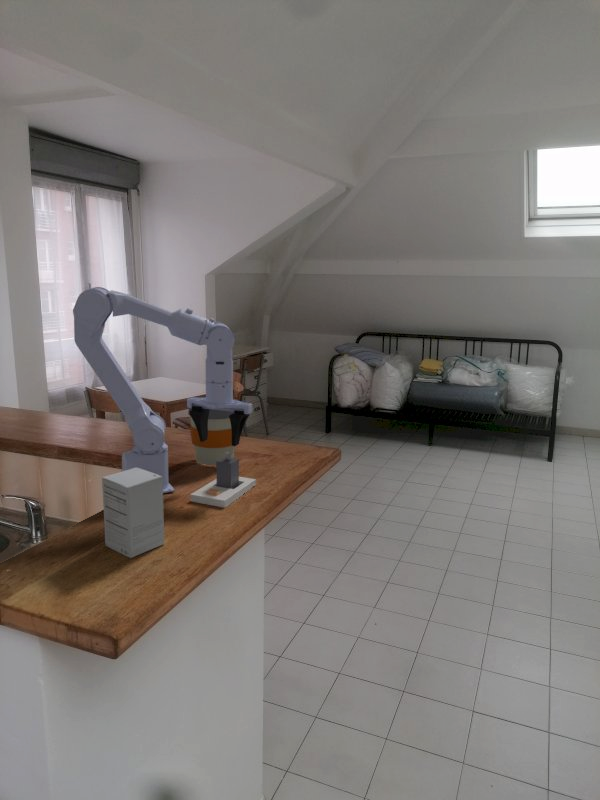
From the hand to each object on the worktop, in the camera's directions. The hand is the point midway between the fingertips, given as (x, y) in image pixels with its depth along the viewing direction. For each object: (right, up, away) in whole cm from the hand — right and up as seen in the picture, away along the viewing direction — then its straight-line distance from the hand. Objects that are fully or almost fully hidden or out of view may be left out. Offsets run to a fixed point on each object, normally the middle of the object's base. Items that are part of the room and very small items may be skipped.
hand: (219, 442), depth 135 cm
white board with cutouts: (+1, -11, -2) cm, 11 cm away
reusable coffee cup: (-4, -6, +19) cm, 20 cm away
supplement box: (-11, -16, -27) cm, 33 cm away
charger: (+2, -10, -1) cm, 11 cm away
